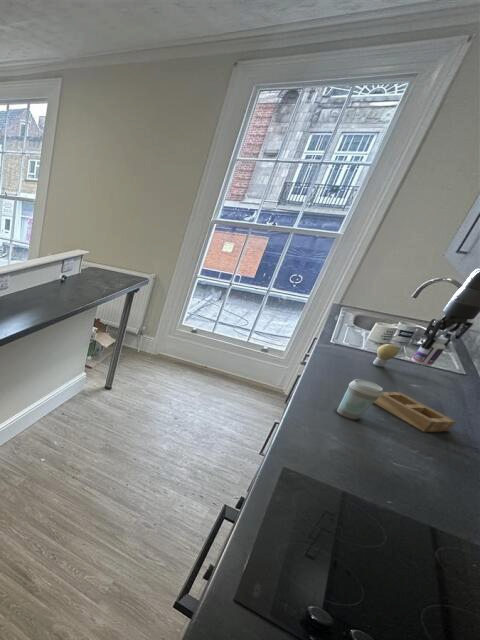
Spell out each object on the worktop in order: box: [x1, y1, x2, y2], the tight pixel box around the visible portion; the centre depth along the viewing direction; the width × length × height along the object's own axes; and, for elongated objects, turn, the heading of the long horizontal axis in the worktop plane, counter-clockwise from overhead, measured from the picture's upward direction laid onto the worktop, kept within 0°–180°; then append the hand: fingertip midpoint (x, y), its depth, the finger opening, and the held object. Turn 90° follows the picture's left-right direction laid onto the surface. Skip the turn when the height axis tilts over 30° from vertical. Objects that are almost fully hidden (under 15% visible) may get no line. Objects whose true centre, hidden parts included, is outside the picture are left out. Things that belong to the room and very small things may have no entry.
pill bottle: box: [411, 334, 448, 367], centre depth 138 cm, size 5×5×10 cm
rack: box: [373, 391, 457, 433], centre depth 139 cm, size 10×18×4 cm, turn 8°
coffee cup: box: [336, 378, 384, 420], centre depth 134 cm, size 9×8×12 cm
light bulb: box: [373, 343, 399, 368], centre depth 174 cm, size 6×6×10 cm
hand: (431, 348), depth 138 cm, fingers closed on pill bottle, 5 cm apart
